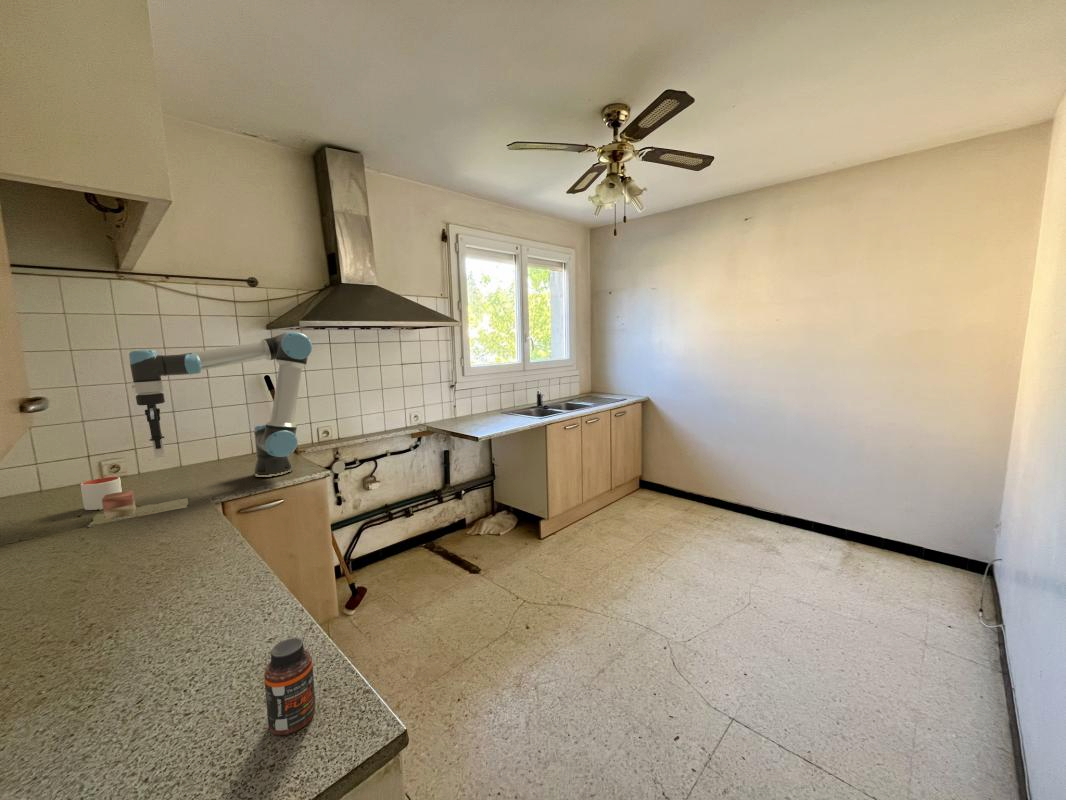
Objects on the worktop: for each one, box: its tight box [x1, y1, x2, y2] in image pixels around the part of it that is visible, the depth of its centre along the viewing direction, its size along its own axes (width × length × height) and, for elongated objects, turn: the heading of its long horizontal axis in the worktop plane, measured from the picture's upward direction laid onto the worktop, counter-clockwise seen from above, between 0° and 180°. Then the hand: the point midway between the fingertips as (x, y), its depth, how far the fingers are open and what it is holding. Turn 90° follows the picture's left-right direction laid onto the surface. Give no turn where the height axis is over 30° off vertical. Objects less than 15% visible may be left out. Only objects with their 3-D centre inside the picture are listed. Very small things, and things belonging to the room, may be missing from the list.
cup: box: [80, 476, 123, 511], centre depth 152 cm, size 10×10×10 cm
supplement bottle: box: [263, 637, 316, 736], centre depth 60 cm, size 6×6×11 cm
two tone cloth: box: [102, 489, 136, 520], centre depth 143 cm, size 7×7×7 cm
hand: (160, 456), depth 154 cm, fingers closed
